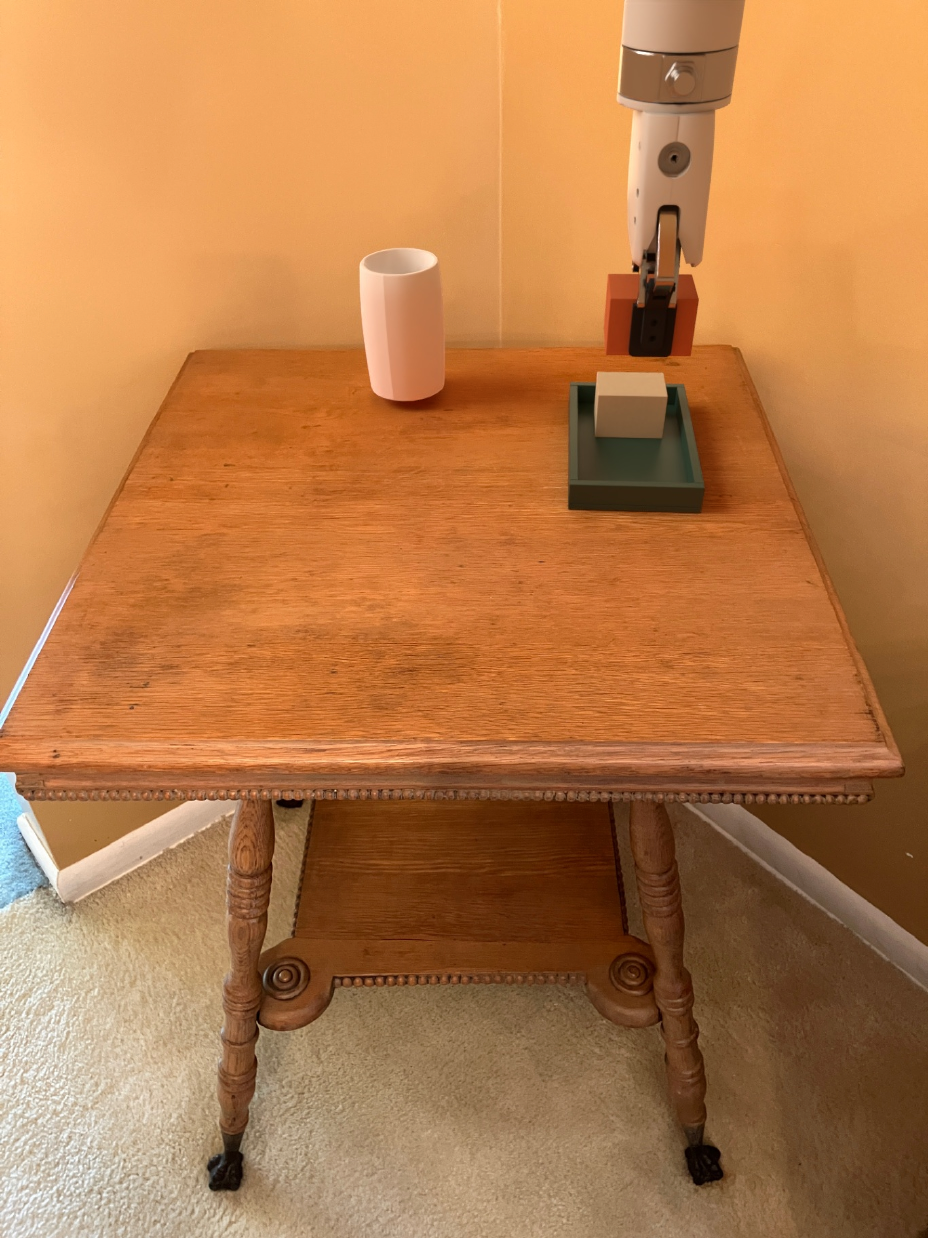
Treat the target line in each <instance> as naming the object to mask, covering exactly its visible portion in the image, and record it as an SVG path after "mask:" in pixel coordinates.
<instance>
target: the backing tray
mask: <svg viewBox="0 0 928 1238" xmlns="http://www.w3.org/2000/svg"><path fill="white" fill-rule="evenodd" d="M665 384H666V390H667V396H668V398H667V405H666V413H665V421H664V429H663V436H662V438H616V437H595V425H594V406H595V393H596V381H569V388H568V389H569V390H568V428H567V429H568V432H567V433H568V436H567V437H568V439H567V442H568V449H567V456H568V457H567V459H568V460H567V470H568V471H567V509H568V510H579V511H580V510H581V511H582V510H583V511H584V510H585V511H616V512H617V511H618V512H620V511H622V512H651V513H652V512H653V513H655V512H657V513H686V514H687V513H690V514H701V513H702V509H703V503H704V496H705V491H706V486H705V481H704V476H703V470H702V466H701V462H700V461H701V460H700V456H699V452H698V445H697V442H696V436H695V431H694V426H693V421H692V416H691V411H690V406H689V401H688V396H687V391H686V387H685V384H684V383H666V382H665Z"/></svg>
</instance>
